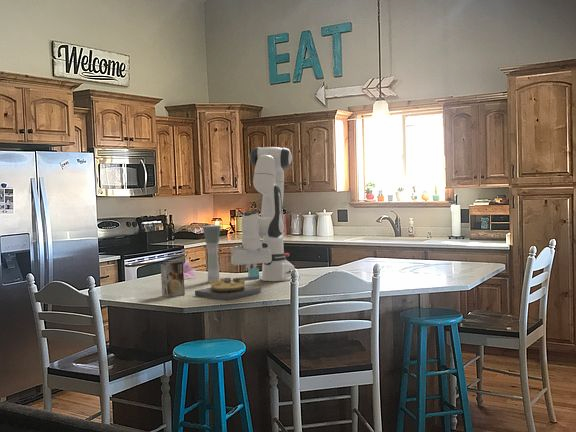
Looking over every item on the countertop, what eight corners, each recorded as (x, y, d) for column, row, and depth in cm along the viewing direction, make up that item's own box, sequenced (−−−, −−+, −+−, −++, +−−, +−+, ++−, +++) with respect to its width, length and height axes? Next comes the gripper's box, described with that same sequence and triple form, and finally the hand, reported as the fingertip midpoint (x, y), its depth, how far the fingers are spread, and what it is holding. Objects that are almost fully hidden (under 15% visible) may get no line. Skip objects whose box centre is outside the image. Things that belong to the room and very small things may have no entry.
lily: (172, 282, 361) (178, 267, 358) (172, 271, 372) (177, 257, 368) (193, 287, 365) (199, 272, 362) (192, 276, 375) (197, 262, 372)
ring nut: (217, 292, 299) (216, 275, 299) (206, 287, 314) (205, 270, 314) (265, 287, 309) (264, 270, 309) (252, 282, 324) (251, 266, 324)
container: (201, 282, 349) (199, 226, 347) (211, 279, 357) (209, 225, 356) (216, 283, 345) (213, 226, 343) (226, 280, 353) (223, 225, 351)
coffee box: (179, 293, 318) (177, 260, 317) (185, 294, 313) (183, 261, 312) (161, 295, 313) (160, 262, 312) (167, 297, 308) (166, 263, 307)
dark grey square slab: (228, 288, 326) (227, 283, 326) (260, 292, 312) (260, 287, 311) (195, 295, 309) (194, 290, 309) (227, 300, 295) (227, 294, 295)
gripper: (233, 246, 309) (233, 275, 310) (272, 244, 317) (273, 272, 318) (228, 245, 315) (229, 274, 315) (267, 243, 323) (268, 270, 324)
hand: (251, 273), depth 317 cm, fingers closed, pressing on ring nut
